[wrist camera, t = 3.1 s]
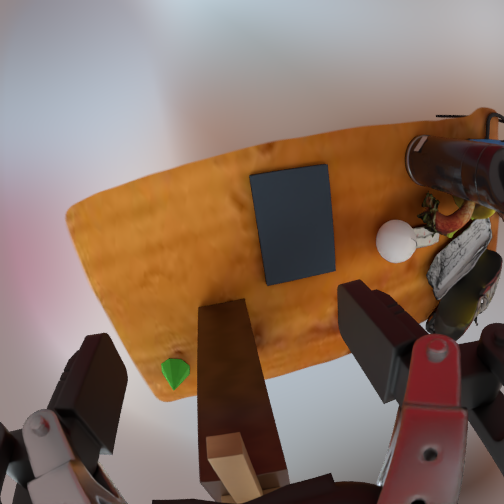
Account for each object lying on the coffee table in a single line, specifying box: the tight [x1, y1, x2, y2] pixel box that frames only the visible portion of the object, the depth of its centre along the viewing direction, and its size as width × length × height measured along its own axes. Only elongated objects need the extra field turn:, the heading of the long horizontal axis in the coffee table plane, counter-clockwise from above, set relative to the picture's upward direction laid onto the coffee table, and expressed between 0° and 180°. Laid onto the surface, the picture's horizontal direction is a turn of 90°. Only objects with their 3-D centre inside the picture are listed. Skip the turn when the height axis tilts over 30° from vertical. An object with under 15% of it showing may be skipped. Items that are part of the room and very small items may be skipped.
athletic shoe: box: [434, 249, 502, 341], centre depth 54 cm, size 12×25×12 cm
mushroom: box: [417, 191, 496, 238], centre depth 45 cm, size 12×12×15 cm
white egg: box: [376, 220, 417, 263], centre depth 48 cm, size 10×7×7 cm
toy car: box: [426, 311, 457, 342], centre depth 60 cm, size 6×12×4 cm, turn 60°
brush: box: [206, 432, 281, 504], centre depth 19 cm, size 6×18×5 cm, turn 9°
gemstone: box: [161, 358, 190, 390], centre depth 52 cm, size 6×6×6 cm
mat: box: [249, 164, 336, 286], centre depth 47 cm, size 12×18×1 cm, turn 9°
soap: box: [412, 227, 439, 248], centre depth 51 cm, size 10×4×1 cm, turn 95°
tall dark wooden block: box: [197, 299, 290, 502], centre depth 38 cm, size 8×12×32 cm, turn 9°
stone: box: [426, 217, 492, 300], centre depth 53 cm, size 22×3×10 cm
